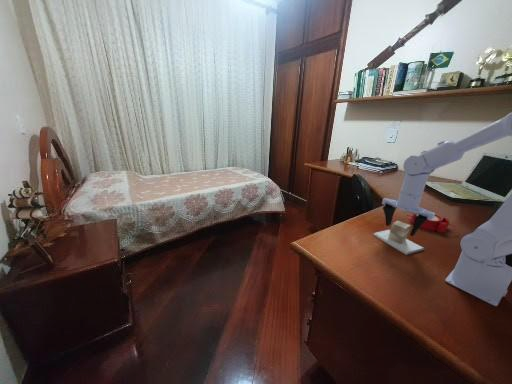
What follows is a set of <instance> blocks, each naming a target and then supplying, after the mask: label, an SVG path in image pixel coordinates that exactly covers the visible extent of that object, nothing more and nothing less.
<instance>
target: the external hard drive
mask: <svg viewBox="0 0 512 384" xmlns="http://www.w3.org/2000/svg"><path fill="white" fill-rule="evenodd" d="M390 230H391V229H385V230H382V231H377V232H374V233H372V234H373V236H375V237H376V238H377V239H379V240H381V241H382V242H384V243H386V244H387V245H389V246H391V247H393V248H394V249H395V250H397V251H399V252H401V253H402V254H405V256H408V255H411V254H415V253H418V252H421V251H423V250H424V249H425V247H423V246H421V245H419V244H417V243H415V242H413V241H411V240H410V239H408V238H406V241H404V242H403V243H402V244H399V243H397V242H395V241H392V240H390V239H388V237H389V234H390Z"/></svg>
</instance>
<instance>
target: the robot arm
mask: <svg viewBox="0 0 512 384" xmlns="http://www.w3.org/2000/svg"><path fill="white" fill-rule="evenodd" d="M507 137H512V112H510V113H508V114H506V116H503V117H502V118H500V119H499V120H495V121H494V122H492V123H490V124H489V125H487V126H484V127H482V128H481V129H479V130H476V131H474V132H473V133H471V134H469V135H467V136H465V137H463V138H461V139H459V140H458V141H453V140H447V141H445V140H444V141H443V140H442V141H440V142H438V143H437V145H436V146H435V147H433V148H430V149H428V150H423V151H421V152H420V154H419V155H414V154H413V155H410V156H409V157H407V158H405V160H404V163H403V166H402V167H403V170H404V173H405V174H404V178H403V180H402V181H403V182H402V185H401V188H400V191H399V194H398V199H397V200H396V199H392V198H387V197H385V198H382V202H381V204H382V205H383V207H382V210H383V213H384V217H385V226H386V227H389V226H390V225H391V226H392V221H393V218H394V214H395V212H396V210H397V209H398V210H400V211H405V212H407V213H410V214H412V215H413V214H416V215H418V216H417V217H415V219H414V224H412V229H411V231H410V237H414V236H415V235H416V233H417V232H418V230H419V229H420V228H421V226H422V225H423V224H424V223H425V222H426V221H427V220H428V219H429V220H432V219H433V218H434V216H435V215H436V213H435V212H433V211H431V210H428V209H425V208H423V207H421V206H419V205H420V203H421V200H422V196H423V194H424V190H425V187H426V184H427V182H428V179H429V177H430V175H431V174H433V172H435V171H436V170H437V169H439V168H441V167H444V166H447V165H449V164H452V163H454V162H457V161H460V160H461V159H462V158H463V156H464V154H465V153H466V152H470V151H472V150H475V149H477V148H480V147H483V146H485V145H488V144H490V143H493V142H496V141H499V140H501V139H503V138H507ZM459 243H460V245H459V246H460V248H461V253H460V256H459V258H458V260H457V262H456V265H455V266H454V268H453V270H452V271H450V273H449V274H448V276H447V277H446V278H445V280H444V281H445V282H446V283H448V284H450V285H452V286H453V287H456V288H458V289H460V290H462V291H463V292H466V293H468V294H470V295H472V296H474V297H475V298H478V299H479V300H481V301H483V302H486V303H488V304H489V305H492V306H494V307H498V306H499V304H500V302H501V300H502V298H503V297H506V295H507V294H508V287H509V285H510V284H511V282H512V266H510V265H508V264H506V261H507V260H506V256H509V255H512V193H511V194H510V195H509V197H508V198H507V199H505V201H504V202H503V203H502V205H500V207H499V208H498V209H497V211H495V213H494V214H493V215H492V216H491V218H490V219H489V220H487V221H486V222H484V223H482V224H481V225H480V226H478V227H477V228H476V229H475V230H474V231H473V232H471V233H468V234H465V235H464V236H463V237H462V238H461V240H460V242H459Z"/></svg>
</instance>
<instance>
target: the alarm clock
mask: <svg viewBox="0 0 512 384" xmlns="http://www.w3.org/2000/svg"><path fill="white" fill-rule="evenodd" d="M406 216H407V217H410V218H409V219H408V220H409V222H410V223H411V224H412V225H414V219H415V217H417V216H418V215H416V214H413V213H412V215H406ZM449 226H452V227H454V231H457V229H458V228H457V226H456V225H452V224H451V223H450V220H449V218H447V217H444V218H442V217H440V216H439V215H437V214H435V216H434V218H433V219H432V220H429V219H428V220H427V221H426V222H425V223H424V224H423V225H422V226H421V227H420V228H421V229H425V230H430V231H436V232H438V233H440V234H442V233H445V232H446V231H447V230H450V231H453V229H451V228H448V227H449Z"/></svg>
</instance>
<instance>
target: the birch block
mask: <svg viewBox="0 0 512 384" xmlns="http://www.w3.org/2000/svg"><path fill="white" fill-rule="evenodd" d="M410 228H411V224H408V223H405V222H402V221H400V220H396V221H394V222H393V223H392V222H391V228H390V229H389V230H390V234H389V237H388V239H390V240H392V241H395V242H397V243H399V244H402V243H403V242H404V241H406V239H408V234H409V233H410V232H409V231H410Z"/></svg>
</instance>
